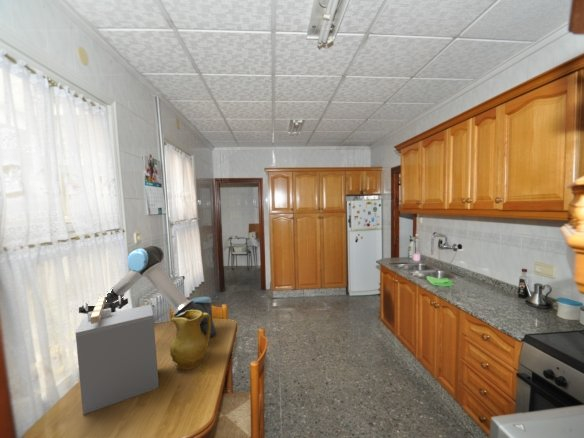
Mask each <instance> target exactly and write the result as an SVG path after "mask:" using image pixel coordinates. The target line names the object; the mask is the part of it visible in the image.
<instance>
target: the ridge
mask: <svg viewBox="0 0 584 438" xmlns="http://www.w3.org/2000/svg"><path fill="white" fill-rule="evenodd" d="M92 313H93V311H92V312H88V314H87V315H86V316H87V318H88V321H91V315H92ZM111 315H112V314H111V308H107V309H103V311H102V314H101V317H100V319H101V318H106V317H110V316H111Z"/></svg>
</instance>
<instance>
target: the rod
mask: <svg viewBox="0 0 584 438" xmlns="http://www.w3.org/2000/svg"><path fill="white" fill-rule="evenodd" d="M105 302H106V297H105V296H101V297H99V298H98V301H97V303H96V306H95V308H94V310H93V313H92V315H91V324H93V323H98V322H99V320H100V317H101V314H102V311H103V308H104V305H105Z"/></svg>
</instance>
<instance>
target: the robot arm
mask: <svg viewBox="0 0 584 438" xmlns="http://www.w3.org/2000/svg"><path fill="white" fill-rule="evenodd" d="M164 255H165V254H164V250H163V249H162V248H160V247H159V246H156V245H149V246H147V247H142V248H137V249H135V250H132V252H130V253H129V254H128V257H127V261H126V262H127V267H128V268H129V271H128V273H126V274H125V275H124V276H123V277H122V278H121V279H120V280H119V281H118V282H117V283H116V284H115V285H114V286H113V287H112V288H113V289H112V288H111V289H112V291H111V293H108V294H107V297H106V300H107V302H105V305H104V308H103V309H107V308H111V313H112V312H117V309H119V310H121V309H122V308H124V307H125V306H126V305H128V304H129V298H127V297H126V298H124V296H125V294H126V293H127V292H128V291H129V290H130V289H131V288H132V287H133V286H135V284H137V282H139V281H140V280H141V279H142V278H144V277H145V278H147V279H148V280H149V282H150V283H151V284H152V285H153V287H154V288H155V289H156V290H157V291H158V293H159V294H160V296H162V298H163V299H164V301H165V302H166V303H167V304H168V305H169V307H170V308H171V309H172V311H173V314H172V315H173V318H174V317H176V316H179V315H181V314H183V313H184V312H185V311H186V310H199V311H201V312H202V313H208V314H209V315H210V317H211V330H210V331H211V332H210V339H212V338H213V337H215V336H216V334H217V328H216V326H215V323H214V322H213V308H212V307H213V305H212V299H211V297H209V296H198V297H194V298H192V299H188V298H187V297H186V296H185V295H184V294H183V292H182V291H181V290H180V289H179V288H178V286H177V285H176V284H175V283H174V281H173V280H172V278H171V277H170V276H169V274H167V272H166V271H165V270H164V269H163V268H162V261H163V260H164V258H165V257H164ZM122 297H123V298H122ZM117 300H118V301H117ZM94 308H95V306H88V304H87V303H86V302H84V301H83V304H82V306H80V307H78V313H79V314H84V315H85V314H88V312H92V311H93V310H94ZM207 323H208V320H207V318H206V317H204V318H203V319H202V320H201V322H200V328H201V331H202V332H203V334H204V335H206V332H207Z"/></svg>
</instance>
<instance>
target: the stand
mask: <svg viewBox="0 0 584 438" xmlns="http://www.w3.org/2000/svg"><path fill="white" fill-rule="evenodd" d="M111 314H112V315H111V316H110V317H106V318H101V319H100V320H99V322H98V323H93V324H91V321H88V317H84V318H82V319H81V320H80V323H79V325H78V327H77V329H76V331H75V342H76V353H77V362H78V372H79V374H78V376H79V384H80V396H81V397H80V398H81V406H82V416H83V415H87V414H89V413H92V412H94V411H98V410H101V409H104V408H106V407H108V406H111V405H114V404H117V403H120V402H122V401H125V400H128V399H131V398H133V397H137V396H140V395H143V394H145V393H148V392H150V391H153V390H156V389H158V388H159V387H160V386H159V385H160V383H159V371H158V360H157V358H158V357H157V346H156V345H157V344H156V334H155V321H154V312H153V307H152V303H151V304H147V305H142V306H138V307H137V306H136V307H131V308H127V309H123V310H116V312H112V313H111Z"/></svg>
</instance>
